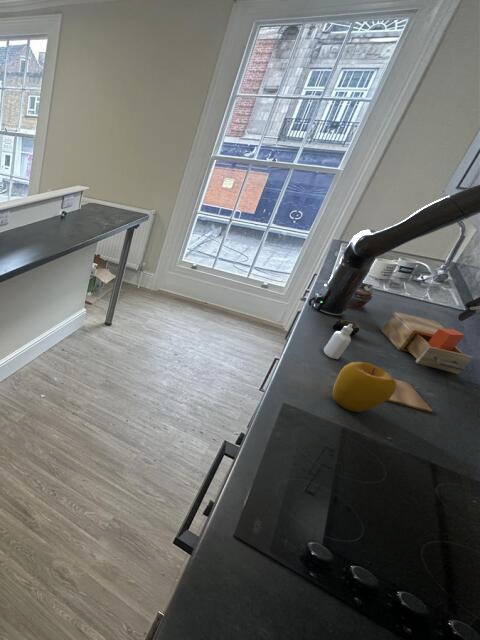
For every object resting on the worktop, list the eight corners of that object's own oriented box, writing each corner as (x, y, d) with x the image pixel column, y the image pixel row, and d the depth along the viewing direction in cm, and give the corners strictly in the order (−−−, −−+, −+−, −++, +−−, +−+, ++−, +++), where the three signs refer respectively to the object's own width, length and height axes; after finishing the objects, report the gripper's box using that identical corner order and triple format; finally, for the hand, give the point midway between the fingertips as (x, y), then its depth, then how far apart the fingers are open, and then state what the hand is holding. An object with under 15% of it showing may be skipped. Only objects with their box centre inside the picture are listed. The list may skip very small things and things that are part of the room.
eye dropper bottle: (339, 354, 134) (360, 324, 128) (337, 361, 130) (359, 330, 124) (323, 348, 136) (343, 318, 130) (321, 354, 133) (341, 324, 127)
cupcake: (336, 297, 177) (349, 276, 172) (364, 305, 172) (378, 284, 167) (335, 303, 171) (349, 282, 165) (364, 312, 165) (379, 290, 160)
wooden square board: (378, 398, 115) (379, 396, 114) (360, 371, 126) (361, 370, 125) (431, 412, 111) (433, 411, 110) (407, 384, 122) (409, 382, 122)
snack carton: (418, 353, 135) (438, 328, 130) (432, 353, 135) (452, 329, 130) (429, 359, 132) (450, 334, 127) (443, 360, 132) (465, 334, 127)
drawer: (466, 381, 125) (481, 364, 121) (423, 370, 128) (437, 354, 125) (436, 352, 139) (448, 337, 136) (398, 343, 142) (409, 328, 139)
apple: (383, 417, 107) (414, 380, 101) (352, 421, 105) (383, 383, 98) (343, 390, 116) (369, 354, 110) (314, 393, 114) (339, 356, 107)
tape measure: (329, 330, 149) (334, 321, 147) (335, 325, 152) (341, 317, 150) (351, 339, 144) (357, 330, 142) (357, 334, 148) (363, 325, 146)
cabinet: (441, 360, 137) (458, 340, 132) (398, 349, 140) (414, 330, 136) (420, 339, 148) (435, 320, 144) (381, 330, 152) (394, 311, 148)
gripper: (503, 277, 128) (448, 307, 133) (564, 298, 116) (501, 330, 120) (504, 292, 132) (450, 321, 136) (563, 314, 120) (502, 345, 124)
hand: (474, 326), depth 128 cm, fingers open, 8 cm apart
